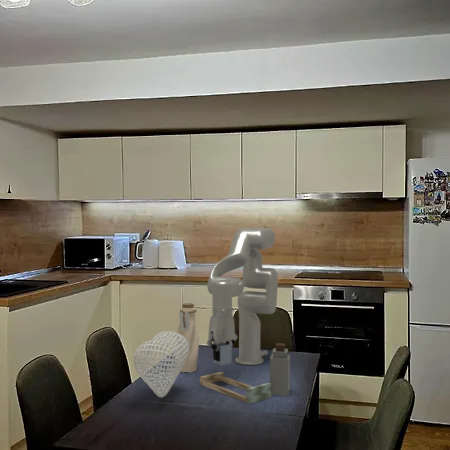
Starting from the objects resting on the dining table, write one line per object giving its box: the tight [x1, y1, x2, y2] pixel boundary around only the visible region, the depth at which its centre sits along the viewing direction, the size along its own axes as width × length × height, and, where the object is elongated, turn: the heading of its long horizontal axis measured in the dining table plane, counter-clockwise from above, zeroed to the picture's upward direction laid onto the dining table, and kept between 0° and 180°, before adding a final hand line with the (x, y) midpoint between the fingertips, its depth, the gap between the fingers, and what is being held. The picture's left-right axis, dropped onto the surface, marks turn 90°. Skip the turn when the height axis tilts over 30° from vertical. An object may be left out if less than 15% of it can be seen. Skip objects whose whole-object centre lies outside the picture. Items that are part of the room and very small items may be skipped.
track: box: [199, 371, 272, 405], centre depth 206 cm, size 11×28×5 cm, turn 40°
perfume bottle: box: [269, 342, 291, 397], centre depth 205 cm, size 7×7×18 cm
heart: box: [133, 330, 189, 398], centre depth 198 cm, size 28×16×22 cm, turn 168°
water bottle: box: [177, 302, 200, 374], centre depth 232 cm, size 10×9×28 cm
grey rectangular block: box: [212, 342, 233, 366], centre depth 213 cm, size 5×5×7 cm
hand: (222, 358), depth 213 cm, fingers closed on grey rectangular block, 5 cm apart
